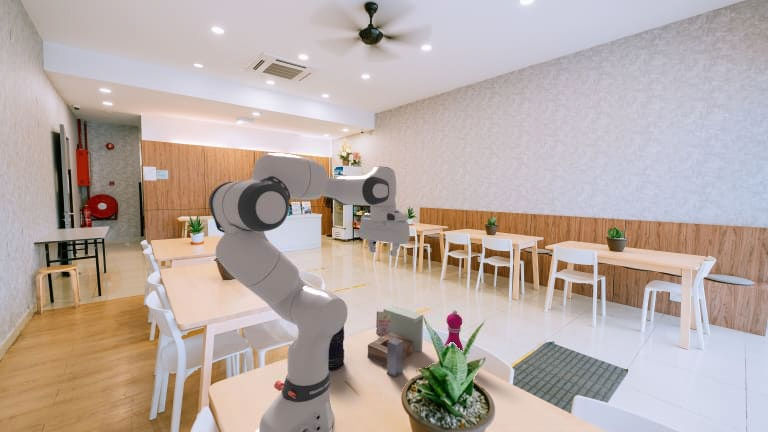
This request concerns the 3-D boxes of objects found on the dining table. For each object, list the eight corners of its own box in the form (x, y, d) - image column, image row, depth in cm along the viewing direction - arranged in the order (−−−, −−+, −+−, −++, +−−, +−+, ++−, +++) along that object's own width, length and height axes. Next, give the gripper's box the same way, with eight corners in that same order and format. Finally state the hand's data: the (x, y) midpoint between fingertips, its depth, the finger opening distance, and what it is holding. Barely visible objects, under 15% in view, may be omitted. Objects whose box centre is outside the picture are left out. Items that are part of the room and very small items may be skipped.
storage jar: (313, 369, 114) (313, 330, 113) (323, 356, 124) (323, 319, 123) (339, 373, 112) (339, 332, 111) (347, 358, 122) (347, 321, 121)
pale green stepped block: (414, 356, 124) (414, 319, 123) (383, 344, 134) (383, 309, 133) (422, 351, 129) (423, 314, 127) (391, 339, 139) (392, 305, 138)
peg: (395, 377, 110) (396, 345, 109) (387, 373, 112) (387, 341, 111) (402, 372, 113) (403, 340, 112) (393, 368, 115) (394, 337, 114)
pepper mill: (464, 365, 118) (466, 314, 117) (445, 365, 118) (447, 313, 117) (460, 355, 125) (461, 307, 124) (442, 355, 126) (443, 306, 124)
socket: (391, 367, 116) (391, 354, 116) (367, 356, 124) (367, 344, 123) (412, 353, 127) (413, 341, 126) (389, 343, 134) (389, 332, 134)
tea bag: (376, 330, 147) (377, 309, 147) (391, 330, 147) (391, 310, 146) (376, 334, 144) (376, 312, 143) (390, 334, 143) (391, 313, 143)
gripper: (355, 213, 112) (355, 251, 113) (401, 216, 99) (400, 259, 100) (367, 212, 117) (366, 249, 118) (412, 215, 104) (411, 256, 105)
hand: (382, 253), depth 109 cm, fingers open, 8 cm apart
